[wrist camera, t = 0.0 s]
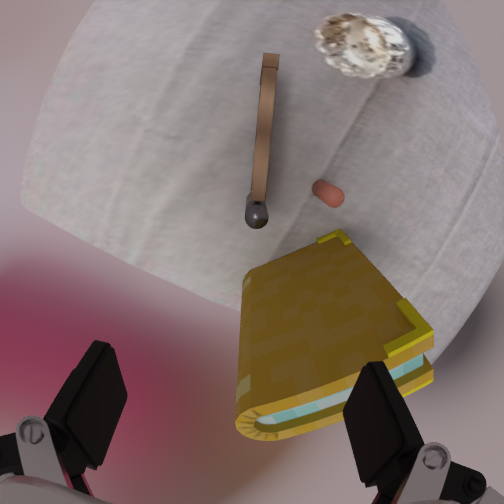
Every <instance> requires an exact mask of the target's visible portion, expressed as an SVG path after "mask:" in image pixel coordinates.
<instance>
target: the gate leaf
mask: <svg viewBox="0 0 504 504" xmlns="http://www.w3.org/2000/svg"><path fill="white" fill-rule="evenodd" d="M278 66H279V54H272V53H264V54H263V62H262V69H261V78H260V85H261V86H260V97H259V108H258V119H257V130H256V141H255V152H254V163H253V174H252V186H251V190H252V195H251V200H252V201H263V202H265V193H266V183H267V172H268V162H269V151H270V140H271V130H272V119H273V108H274V97H275V86H276V74H277V70H278Z"/></svg>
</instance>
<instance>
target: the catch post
mask: <svg viewBox="0 0 504 504" xmlns="http://www.w3.org/2000/svg"><path fill="white" fill-rule="evenodd" d="M312 191H313V193H314V195H316V196H317V197H318V198H319V199H321V200H322V201H323V202H325V203H326V204H327V205H328V206H330V207H333V208H336V207H339V206H340V205H341V204H342V203H343V201H344V193H343V191H342V190H341V189H339V188H337V187H335V186H333V185H331V184H329V183H327V182H325V181H323V180H318V181H316V182H315V183H314V184H313V186H312Z"/></svg>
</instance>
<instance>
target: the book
mask: <svg viewBox="0 0 504 504" xmlns="http://www.w3.org/2000/svg"><path fill="white" fill-rule="evenodd" d="M317 241H318V242H316V243H314V244H311V245H309V246H307V247H304V248H302V249H300V250H297V251H295V252H293V253H290V254H288V255H286V256H283V257H281V258H279V259H276V260H274V261H271V262H269V263H267V264H264V265H262V266H260V267H257V268H255V269H252V270H250V271H249V272H248V273H247V274H246V275H245V278H244V280H243V287H242V304H241V323H240V340H239V341H240V342H239V359H238V378H237V397H236V418H235V423H236V429H237V430H238V431H239V432H240V433H241V434H242V435H244V436H247V437H249V438H252V439H256V440H262V441H272V440H280V439H284V438H288V437H292V436H295V435H299V434H303V433H306V432H309V431H313V430H316V429H319V428H322V427H325V426H328V425H331V424H334V423H337V422H340V421H342V420H344V418H343V408H344V406H345V404H346V402H347V400H348V398H349V396H350V393H351V391H352V389H353V387H354V385H355V383H356V381H357V378H358V376H359V374H360V372H361V369H362V367H363V366H366V364H367V363H368V362H372V361H383V362H384V363H385V365H386V367H387V369H388V371H389V373H390V374H391V376H392V378H393V380H394V382H395V384H396V386H397V388H398V390H399V392H400V393H401V395H402V397H405V396H406V395H408V394H411V393H412V392H414V391H416V390H418V389H420V388H422V387H424V386H426V385H428V384H429V383H431V382H433V370H434V369H433V367H432V366H431V364H430V363H429V361H428V360H427V358H426V357H425V355H424V354H423V353H424V352H426V351H427V350H429V349H431V348H433V347H434V333H433V329H432V327H431V326H430V325H429V324H428V323H427V322H426V321H425V320H424V319H423V317H422V316H421V315H420V314H419V313H418V311H417V310H416V309H415V308H414V307H413V306H412V304H411V303H410V302H409V301H408V300H407V299H406V298H403V297H402V296H401V295H400V294H399V293H398V291H397V290H396V289H395V288H394V287H393V286H392V285H391V284H390V282H389V281H388V280H387V279H386V278H385V277H384V276H383V275H382V274H381V273H380V271H379V270H378V269H377V268H376V267H375V266H374V265H373V264H372V263H371V262H370V261H369V260H368V259H367V258H366V256H365V255H364V254H363V253H362V252H361V251H360V250H359V249H358V248H357V247H356V246H355V245H354V244H353V243H352V242H351V239H350V238H349V237H348V236H347V235H346V234H345V233H344V232H343V231H342V230H341V229H338V230H336V231H334V232H331V233H329V234H327V235H324V236H322V237H320V238H317Z"/></svg>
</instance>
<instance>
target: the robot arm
mask: <svg viewBox="0 0 504 504" xmlns="http://www.w3.org/2000/svg"><path fill="white" fill-rule="evenodd" d="M126 401H127V391H126V388H125V385H124V382H123V378H122V375H121V372H120V368H119V365H118V361H117V358H116V354H115V350H114V348H112V347H111V345H110V344H109V343H106V342H102V341H98V340H95V341H94V342H93V343H92V344H91V346H90V347H89V349H88V350H87V352H86V353H85V355H84V356H83V358H82V359H81V361H80V362H79V364H78V365H77V367H76V368H75V369H74V370H73V371H72V372H71V374H70V376H69V377H68V379H67V380H66V381H65V383H64V385H63V386H62V388H61V389H60V391H59V393H58V394H57V396H56V398H55V399H54V401H53V403H52V404H51V406H50V408H49V410H48V411H47V413H46V415H45V416H44V418H43V419H42V418H40V417H38V416H27V417H24V418H23V419H22V420H20V422H19V423H18V424H17V427H16V432H15V433H11V434H8V435H3V436H0V504H112V503H109V502H106V501H103V500H100V499H97V498H95V497H94V495H93V493H92V491H91V488H90V486H89V484H88V482H87V480H86V478H85V475H84V472H85V469H86V467H88V468H91V469H93V470H97V467H98V465H99V466H101V465H102V464H103V461H104V458H105V456H106V453H107V450H108V447H109V444H110V442H111V439H112V436H113V434H114V431H115V429H116V426H117V423H118V421H119V418H120V415H121V413H122V411H123V408H124V406H125V403H126ZM343 418H344V421H345V424H346V428H347V432H348V435H349V439H350V443H351V446H352V450H353V454H354V458H355V461H356V465H357V469H358V473H359V477H360V480H361V482H362V483H365V486H366V488H367V487H371V486H376V485H377V488H378V493H377V495H376V497H375V499H374V500H373V502H372V504H504V497H503V496H502V495H501V494H499V493H498V492H497V491H496V490H494V489H493V488H492V487H490V486H489V487H488V488H487V487H486V479H485V477H484V476H483V475H482V473H480V472H478V471H476V470H473V469H470V468H467V467H465V466H462V465H460V464H457V463H454V462H452V461H451V456H450V452H449V451H448V449H447V448H446V447H445V446H444V445H442V444H440V443H437V442H430V443H428V444H424V442H423V440H422V437H421V435H420V433H419V431H418V428H417V426H416V424H415V422H414V420H413V418H412V416H411V413H410V411H409V409H408V407H407V405H406V403H405V401H404V399H403V397H402V395H401V393H400V392H399V390H398V388H397V386H396V384H395V382H394V380H393V378H392V376H391V374H390V373H389V371H388V369H387V367H386V365H385V363H384V362H383V361H372V362H368V363H367V364H366V366H363V367H362V369H361V372H360V374H359V376H358V378H357V381H356V383H355V385H354V387H353V389H352V391H351V393H350V396H349V398H348V400H347V402H346V404H345V406H344V408H343Z"/></svg>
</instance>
